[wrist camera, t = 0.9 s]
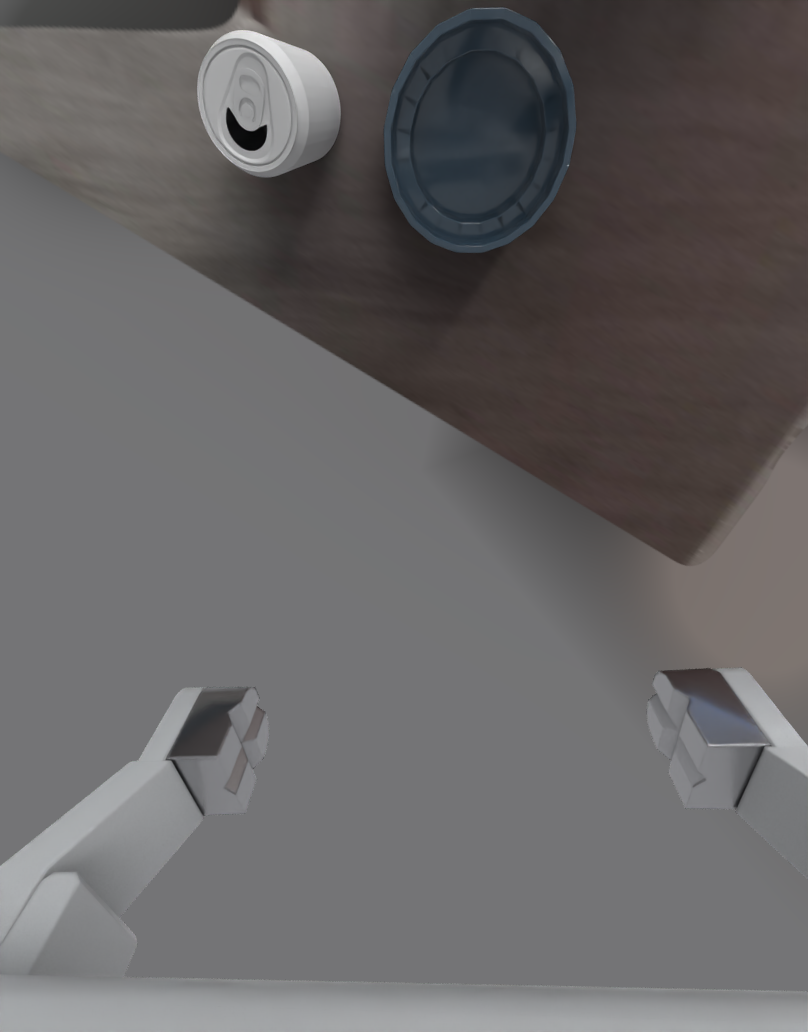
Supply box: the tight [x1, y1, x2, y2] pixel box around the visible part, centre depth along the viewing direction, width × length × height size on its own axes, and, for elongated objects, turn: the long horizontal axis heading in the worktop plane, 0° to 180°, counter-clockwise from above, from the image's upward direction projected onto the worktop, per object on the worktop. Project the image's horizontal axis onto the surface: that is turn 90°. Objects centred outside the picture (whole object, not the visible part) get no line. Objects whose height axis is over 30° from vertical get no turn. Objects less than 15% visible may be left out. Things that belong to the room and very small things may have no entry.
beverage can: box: [197, 30, 341, 177], centre depth 30 cm, size 6×6×12 cm
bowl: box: [384, 7, 576, 253], centre depth 33 cm, size 13×13×4 cm
